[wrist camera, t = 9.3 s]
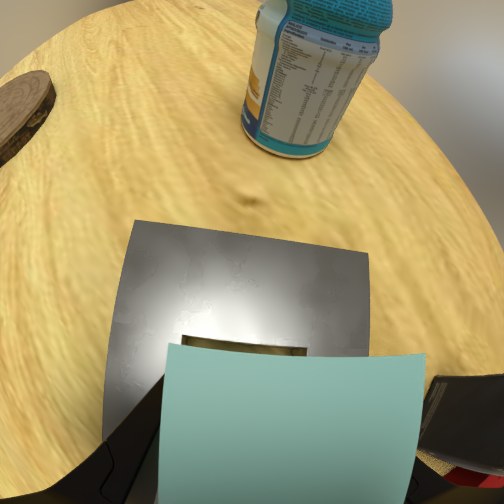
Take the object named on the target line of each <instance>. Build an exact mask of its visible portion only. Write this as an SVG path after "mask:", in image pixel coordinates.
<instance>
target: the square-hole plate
mask: <svg viewBox="0 0 504 504" xmlns="http://www.w3.org/2000/svg"><path fill="white" fill-rule="evenodd" d="M187 337H189V338H196V339H202V340H210V341H217V342H225V343H234V344H243V345H253V346H264V347H277V348H292V349H291V356H303V357H369V338H370V281H369V258H368V253H364V252H358V251H351V250H345V249H339V248H333V247H326V246H320V245H313V244H307V243H300V242H294V241H287V240H280V239H274V238H267V237H260V236H253V235H246V234H239V233H232V232H225V231H218V230H210V229H203V228H196V227H188V226H181V225H173V224H165V223H158V222H150V221H142V220H135V221H134V225H133V229H132V232H131V236H130V240H129V243H128V247H127V251H126V255H125V259H124V264H123V268H122V272H121V277H120V282H119V286H118V291H117V296H116V302H115V307H114V313H113V319H112V325H111V332H110V338H109V346H108V354H107V363H106V373H105V384H104V399H103V423H102V442H103V441H104V440H105V441H106V438H107V437H108V436H109V435H110V434H111V433H112V431H113V430H114V429H115V428H116V427H117V426H118V425H119V424H120V423H121V422H122V420H123V419H124V418H125V417H126V416H127V415H128V414H129V413H130V411H131V410H132V409H133V408H134V407H135V406H136V405H137V404H138V403H139V401H140V400H141V399H142V398H143V397H144V396H145V395H146V394H147V392H148V391H149V390H150V389H151V388H152V387H153V386H154V385H155V383H156V382H157V381H158V380H159V379H160V378H161V377H162V375H163V374H165V367H166V358H167V350H168V343H174V344H180V345H186V346H187ZM154 504H158V490H157V494H156V498H155V502H154Z"/></svg>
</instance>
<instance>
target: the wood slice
mask: <svg viewBox="0 0 504 504" xmlns="http://www.w3.org/2000/svg"><path fill="white" fill-rule="evenodd" d="M55 99H56V92H55V89H54V86H53V84H52V81H51V78H50V76H49V73H48V72H46V71H43V70H36V71H30V72H28V73H25V74H23V75H20V76H18V77H16V78H14V79H13V80H11V81H9V82H8V83H6V84H5V85H3V86H2V87H1V88H0V168H1V167H2V166H3V165H4V164H6V163H7V162H8V161H9V160H10V159H12V158H13V157H14V156H15V155H16V154H17V153H18V152H19V151H20V150H21V149H22V148H23V147H24V146H25V145H26V144H27V143H28V142H29V141H30V140H31V138H32V137H33V136H34V135H35V133H36V132H37V131H38V129H39V128H40V127H41V126H42V125H43V123H44V122H45V120H46V119H47V117H48V115H49V113H50V112H51V110H52V108H53V106H54V103H55Z"/></svg>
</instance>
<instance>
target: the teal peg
mask: <svg viewBox="0 0 504 504" xmlns="http://www.w3.org/2000/svg"><path fill="white" fill-rule="evenodd" d="M425 356H426V353H423V354H411V355H397V356H377V357H303V356H282V355H267V354H254V353H243V352H233V351H224V350H215V349H208V348H200V347H193V346H186V345H180V344H174V343H168V350H167V358H166V367H165V376H164V387H163V398H162V410H161V425H160V443H159V473H158V504H403V503H404V500H405V497H406V493H407V490H408V486H409V482H410V478H411V474H412V470H413V465H414V460H415V455H416V450H417V444H418V438H419V432H420V425H421V417H422V408H423V398H424V384H425Z"/></svg>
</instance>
